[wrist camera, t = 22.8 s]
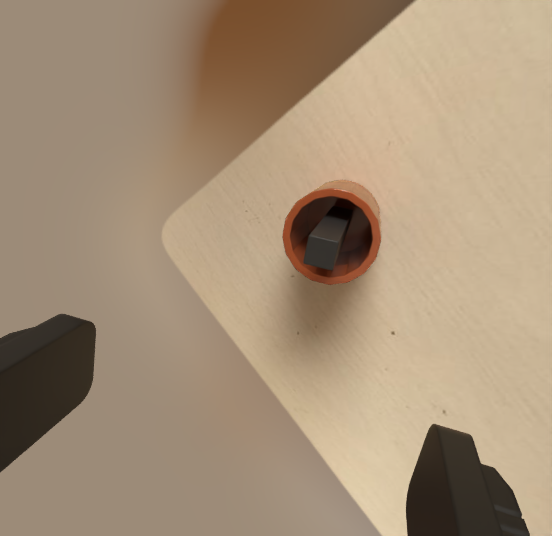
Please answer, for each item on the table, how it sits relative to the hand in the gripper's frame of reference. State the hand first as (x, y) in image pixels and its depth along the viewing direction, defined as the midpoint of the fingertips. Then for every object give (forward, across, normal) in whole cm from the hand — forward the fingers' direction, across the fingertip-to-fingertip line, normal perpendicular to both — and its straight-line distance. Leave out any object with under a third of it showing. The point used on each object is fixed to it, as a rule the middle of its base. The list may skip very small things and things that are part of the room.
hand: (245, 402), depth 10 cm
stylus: (+26, 0, 0) cm, 26 cm away
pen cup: (+27, 0, 0) cm, 27 cm away
